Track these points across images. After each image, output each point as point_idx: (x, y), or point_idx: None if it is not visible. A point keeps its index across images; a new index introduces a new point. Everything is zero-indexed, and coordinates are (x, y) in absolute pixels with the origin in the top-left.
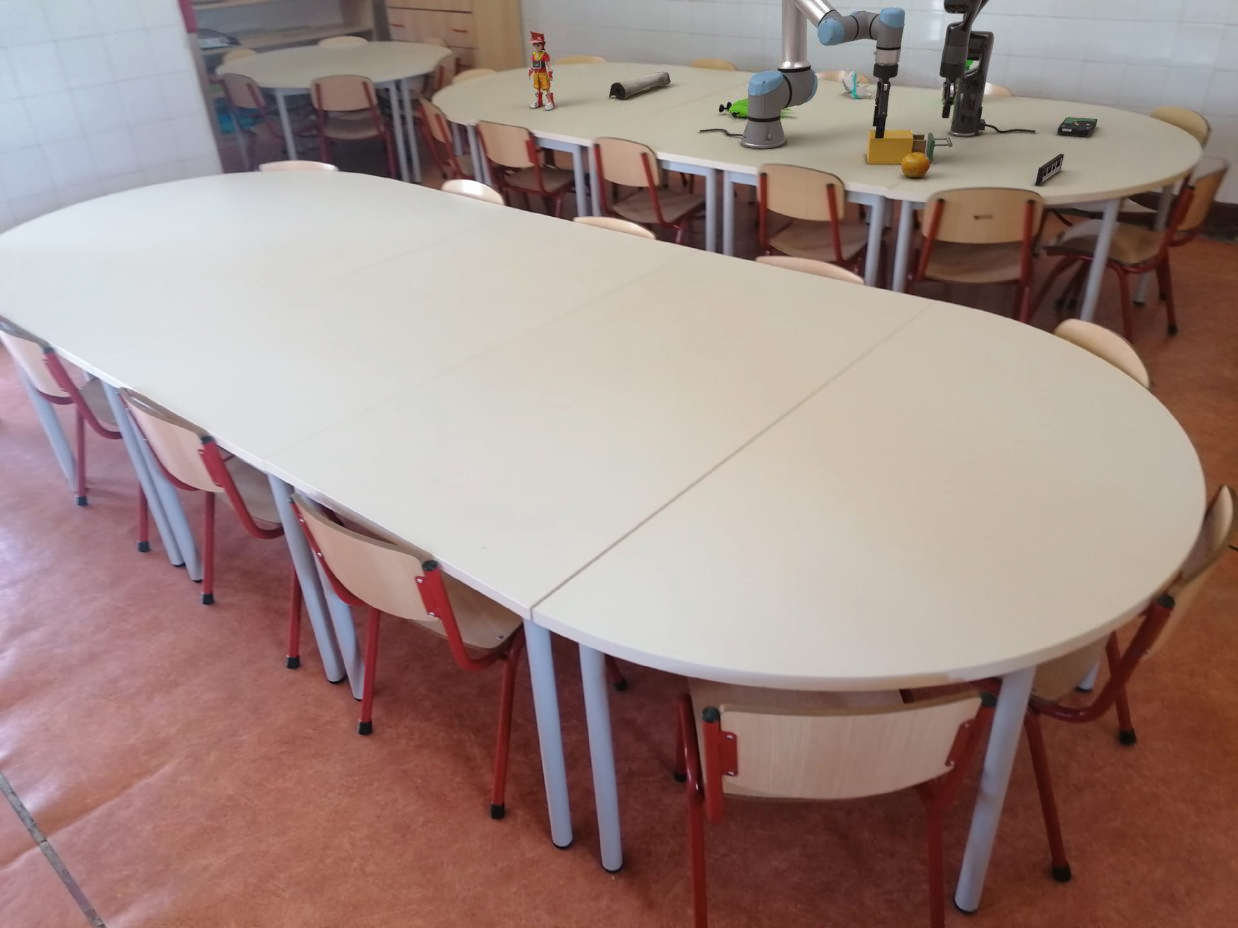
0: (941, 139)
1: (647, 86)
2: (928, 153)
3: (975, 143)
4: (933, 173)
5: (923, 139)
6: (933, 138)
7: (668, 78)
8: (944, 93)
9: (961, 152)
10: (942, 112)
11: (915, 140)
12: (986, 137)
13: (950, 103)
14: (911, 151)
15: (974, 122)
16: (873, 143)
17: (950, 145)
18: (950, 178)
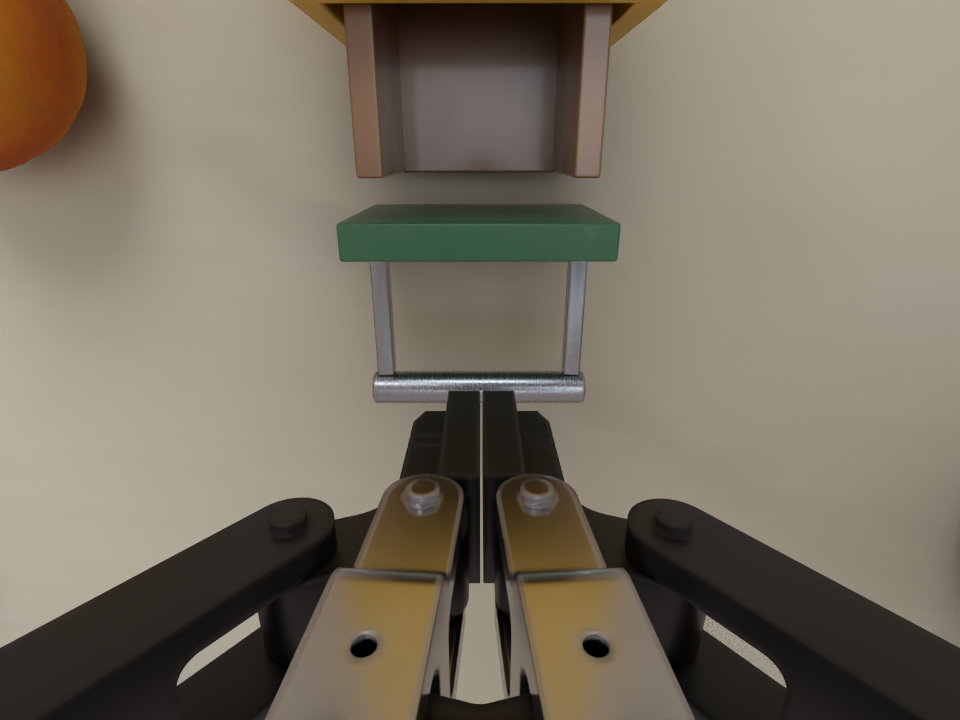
0: (566, 335)
1: None
2: (423, 208)
3: (815, 538)
4: (141, 216)
5: (569, 169)
6: (409, 252)
7: None
8: (280, 708)
9: (635, 444)
10: (476, 418)
11: (346, 43)
12: (923, 603)
13: (262, 626)
14: (326, 28)
15: None
16: None
17: (375, 385)
18: (55, 315)
